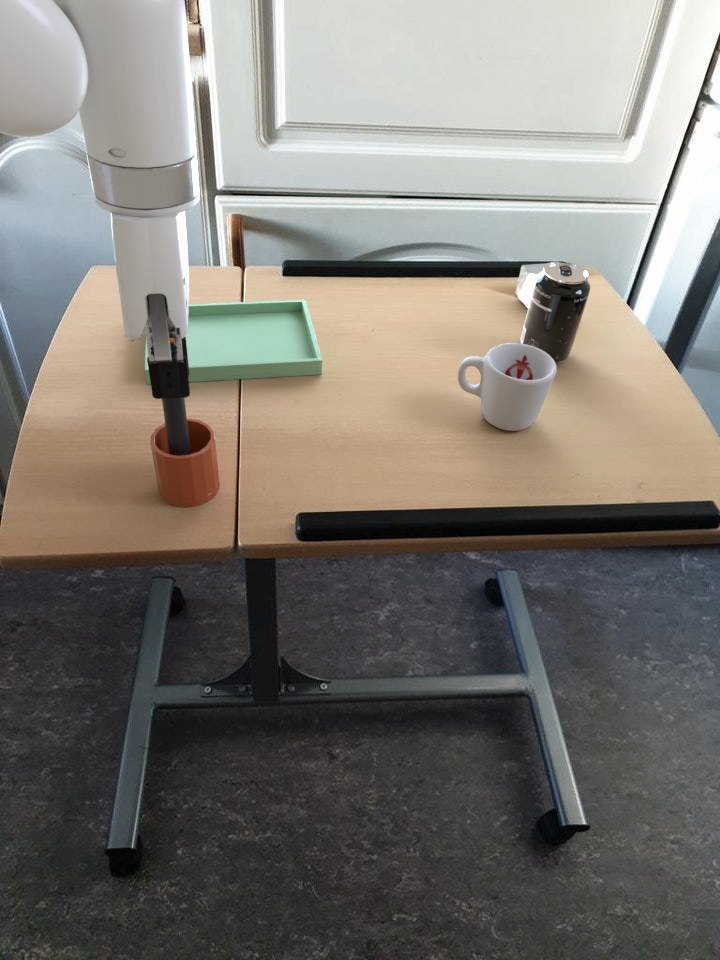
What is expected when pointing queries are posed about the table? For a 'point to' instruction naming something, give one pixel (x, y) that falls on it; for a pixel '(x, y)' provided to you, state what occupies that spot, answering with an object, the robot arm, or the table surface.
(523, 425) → the cup
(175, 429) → the marker
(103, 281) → the table surface
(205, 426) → the pen cup
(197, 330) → the tray
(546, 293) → the beverage can
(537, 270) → the small box
